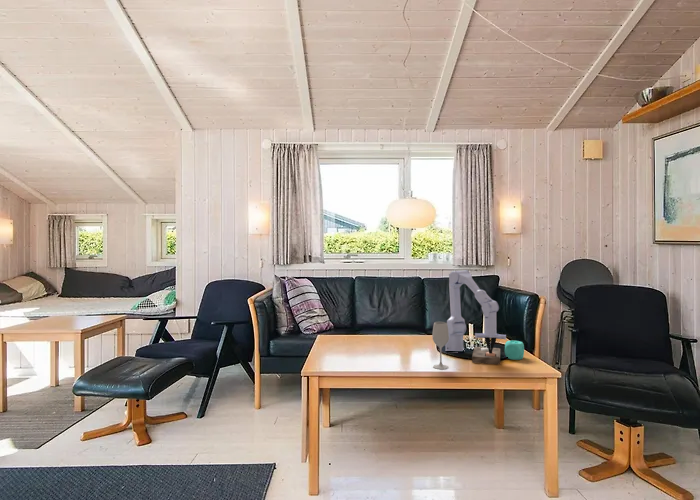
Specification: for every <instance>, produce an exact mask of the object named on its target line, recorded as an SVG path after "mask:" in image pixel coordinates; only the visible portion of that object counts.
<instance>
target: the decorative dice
mask: <svg viewBox="0 0 700 500" xmlns="http://www.w3.org/2000/svg"><path fill="white" fill-rule="evenodd" d="M524 356H525V345H524V343H523V341H519V340H507V341H506V342H505V344H504V357H508V358H507V359H509V360H512V361H513V360H514V361H515V360H516V361H520V360H523V358H524Z"/></svg>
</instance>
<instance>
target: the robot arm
mask: <svg viewBox="0 0 700 500" xmlns="http://www.w3.org/2000/svg"><path fill="white" fill-rule="evenodd" d="M448 278H449V279H448V288H449V305H450V317H449V318H448V319H447V320H446V323H447V326H448V332H449V340H448V342H447V344H446V345H445V346H444V347H445V351H463V350H464V349H465V348H464V335H465V333H466V331H467V325H466V319H465V318H464V317H463V316H462V309H461V307H462V306H461V291H460V288H461V287H462V285H466V286H467V287H468V289H470V290H471V292H473V294H474V298H475V299H476V300H477V302H478V303H479V305H480V306H481V311H482V315H483V318H484V319H483V320H484V321H483V322H484V329H483V333H482V332H481V333H477V332H475V333H474V338H475V339H484V341H485V343H486V344H485V345H486V346H487V348H488V350H489V353H492V350H493V348H495V347H494V346H495V344H496V342H497V340H504V341H505V340H507V334H499V333H497V312H499V309H500V305H499V303H498V301H496V300H494V299H492V298H491V297H490V296H489V295H488V294H487V291H486V290H484V289H480V287H479V286H478V284H477V283H476V281H475V280H474V278H473V277H472V273H471V272H470V271H469V270H468V269H465V270H464V269H463V270H452V271H451V272H450V273H448ZM490 348H491V349H490ZM464 351H465V350H464Z"/></svg>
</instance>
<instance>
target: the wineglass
mask: <svg viewBox="0 0 700 500" xmlns="http://www.w3.org/2000/svg"><path fill="white" fill-rule="evenodd" d="M431 335H432V341H433V343H434V344H435V346H437V347H438V348H439V364H434V365H433V366H432V367H433V369H437V370H447V368H448V369H449V366H448V365H446V364H443V361H442V358H443V356H442V353H443V352H442V350H443V348H444V347H445V345H446V344H447V342H448V340H449V332H448V326H447V321H446V322H445V321H435V322H434V323H433V326H432V334H431Z"/></svg>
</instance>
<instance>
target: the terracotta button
mask: <svg viewBox="0 0 700 500" xmlns="http://www.w3.org/2000/svg"><path fill="white" fill-rule="evenodd" d="M486 356H495V353H494V352H492V353H489V352H486Z"/></svg>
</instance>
